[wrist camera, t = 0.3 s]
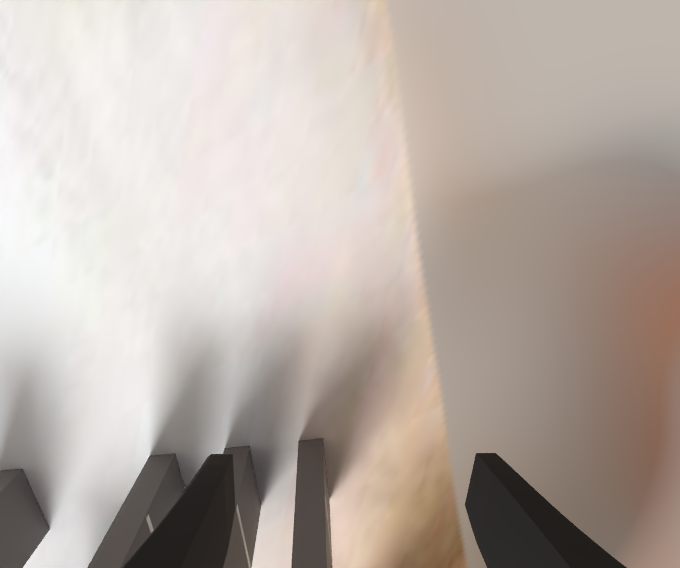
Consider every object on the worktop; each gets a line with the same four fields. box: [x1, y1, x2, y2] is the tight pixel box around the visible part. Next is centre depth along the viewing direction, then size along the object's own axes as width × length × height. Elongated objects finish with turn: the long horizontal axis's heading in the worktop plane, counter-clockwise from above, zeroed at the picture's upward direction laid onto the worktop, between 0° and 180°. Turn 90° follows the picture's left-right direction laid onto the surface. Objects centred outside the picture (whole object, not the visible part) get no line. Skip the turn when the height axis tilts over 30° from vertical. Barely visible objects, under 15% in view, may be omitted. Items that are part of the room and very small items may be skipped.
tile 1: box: [292, 439, 332, 568], centre depth 20 cm, size 2×5×8 cm, turn 4°
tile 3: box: [88, 453, 185, 568], centre depth 19 cm, size 2×5×8 cm, turn 4°
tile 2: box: [223, 446, 261, 568], centre depth 19 cm, size 2×5×8 cm, turn 4°
